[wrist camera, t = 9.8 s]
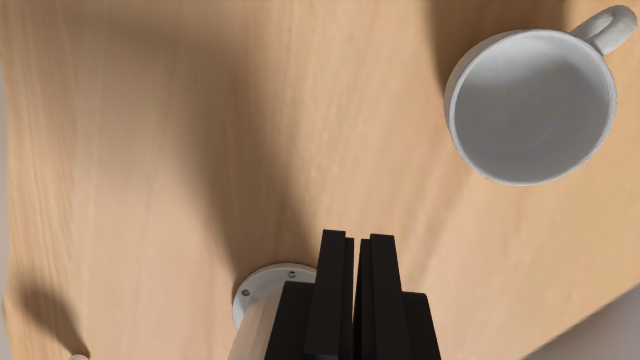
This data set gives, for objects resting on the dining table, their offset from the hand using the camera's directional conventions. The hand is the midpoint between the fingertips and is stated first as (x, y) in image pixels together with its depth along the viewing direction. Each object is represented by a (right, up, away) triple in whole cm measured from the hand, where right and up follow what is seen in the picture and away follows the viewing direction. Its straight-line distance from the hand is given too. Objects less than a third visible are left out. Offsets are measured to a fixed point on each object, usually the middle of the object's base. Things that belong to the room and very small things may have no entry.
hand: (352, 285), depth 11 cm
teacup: (+15, +11, +26) cm, 32 cm away
